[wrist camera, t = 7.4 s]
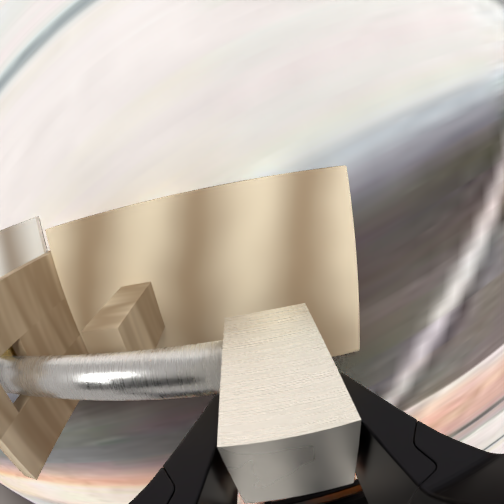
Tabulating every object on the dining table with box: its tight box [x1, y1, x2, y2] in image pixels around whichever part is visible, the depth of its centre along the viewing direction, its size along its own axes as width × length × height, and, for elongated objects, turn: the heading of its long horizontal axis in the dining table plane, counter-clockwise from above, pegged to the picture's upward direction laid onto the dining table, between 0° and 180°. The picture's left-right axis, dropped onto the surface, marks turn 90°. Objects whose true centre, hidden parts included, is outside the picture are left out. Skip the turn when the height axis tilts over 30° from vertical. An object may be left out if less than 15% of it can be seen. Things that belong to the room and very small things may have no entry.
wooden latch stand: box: [0, 166, 360, 480], centre depth 13 cm, size 29×14×12 cm, turn 100°
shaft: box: [0, 303, 361, 503], centre depth 8 cm, size 21×3×6 cm, turn 100°
